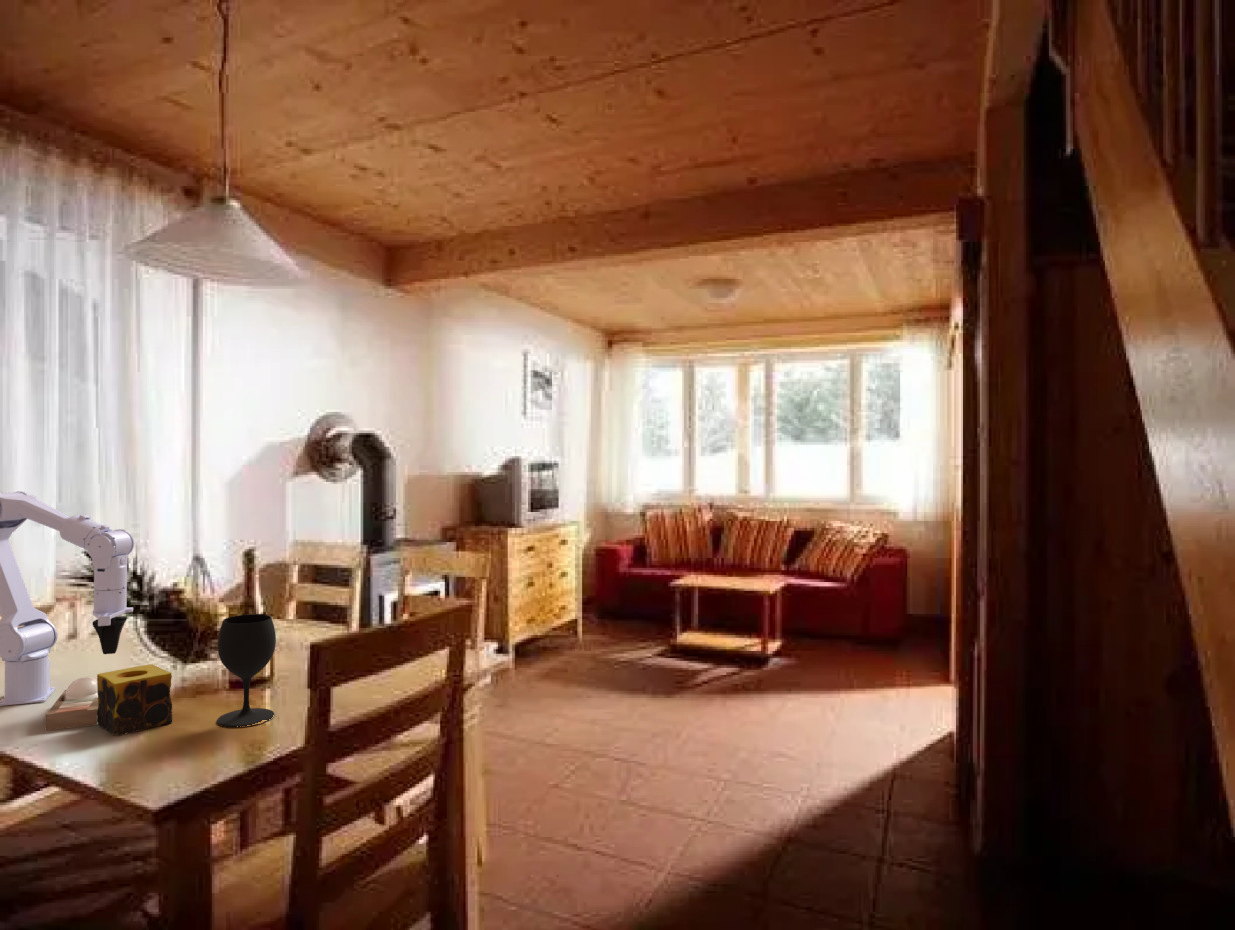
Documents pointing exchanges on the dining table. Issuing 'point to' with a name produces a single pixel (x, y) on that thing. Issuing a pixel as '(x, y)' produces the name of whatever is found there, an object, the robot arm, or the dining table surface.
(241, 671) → the wine glass
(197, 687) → the dining table surface
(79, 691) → the dome button
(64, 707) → the brown shallow box
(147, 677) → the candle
